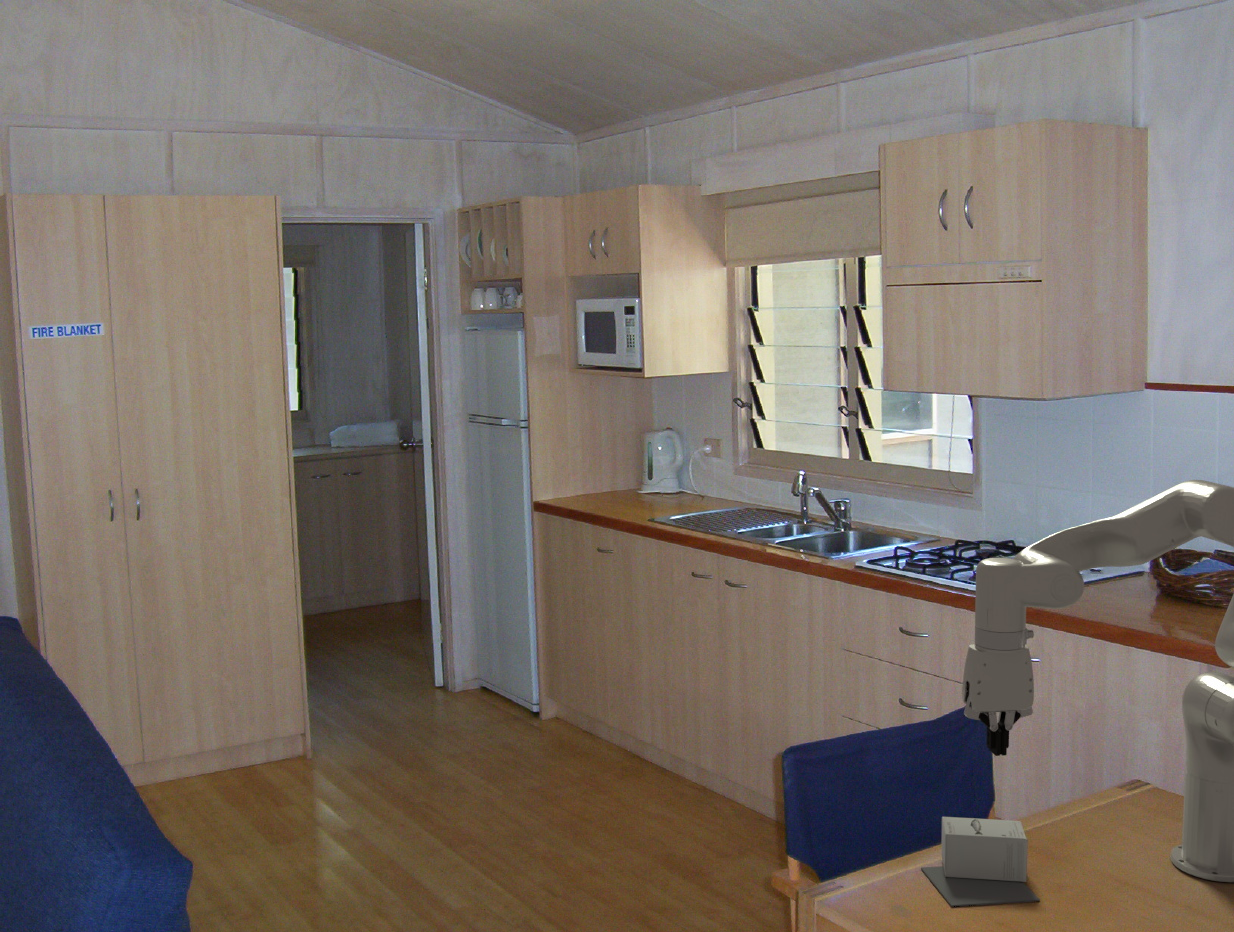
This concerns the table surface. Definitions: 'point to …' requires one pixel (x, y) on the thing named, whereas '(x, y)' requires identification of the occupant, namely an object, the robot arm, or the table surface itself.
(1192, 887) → the table surface
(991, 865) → the supplement box
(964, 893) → the mat
